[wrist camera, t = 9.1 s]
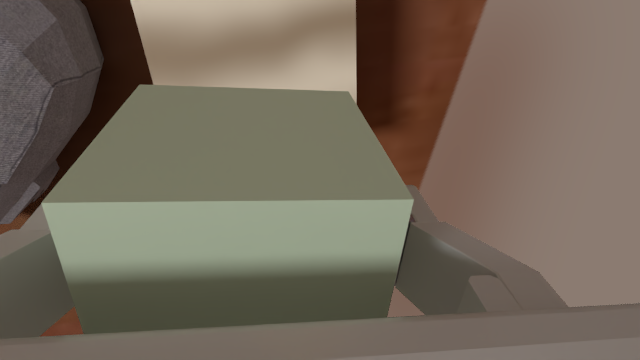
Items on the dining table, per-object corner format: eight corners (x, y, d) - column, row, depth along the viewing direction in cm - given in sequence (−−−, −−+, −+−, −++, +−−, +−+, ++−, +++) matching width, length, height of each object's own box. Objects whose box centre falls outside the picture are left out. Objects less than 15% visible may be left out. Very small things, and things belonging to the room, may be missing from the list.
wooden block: (343, 110, 31) (356, 137, 27) (185, 126, 30) (173, 156, 26) (338, -73, 25) (355, -76, 21) (139, -61, 24) (113, -62, 20)
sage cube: (331, 245, 13) (367, 400, 8) (164, 250, 12) (112, 422, 8) (348, 91, 10) (414, 199, 6) (139, 84, 9) (40, 202, 5)
